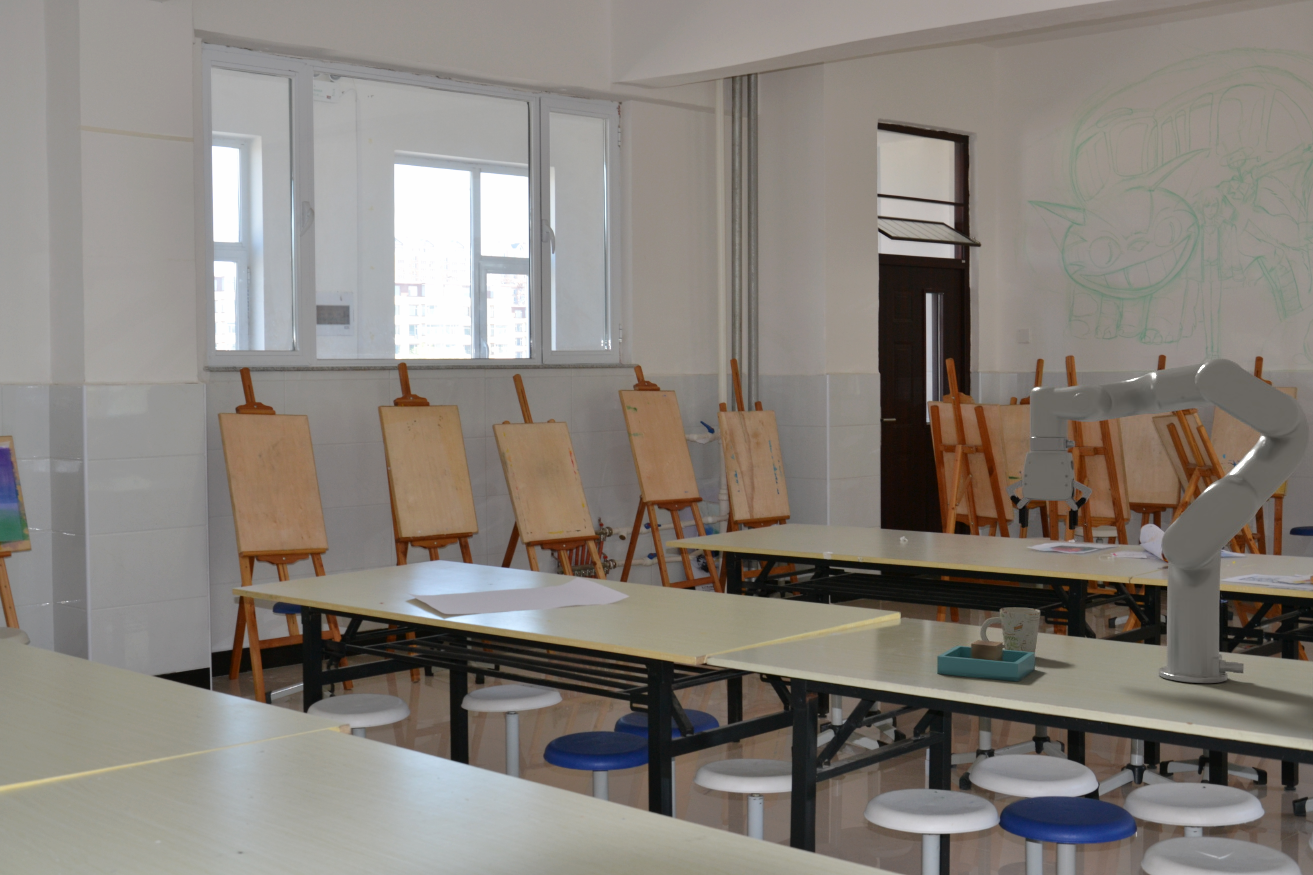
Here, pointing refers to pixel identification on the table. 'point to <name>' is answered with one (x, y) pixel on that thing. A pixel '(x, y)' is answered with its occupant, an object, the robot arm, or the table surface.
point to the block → (987, 650)
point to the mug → (1016, 628)
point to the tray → (986, 664)
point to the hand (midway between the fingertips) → (1048, 528)
